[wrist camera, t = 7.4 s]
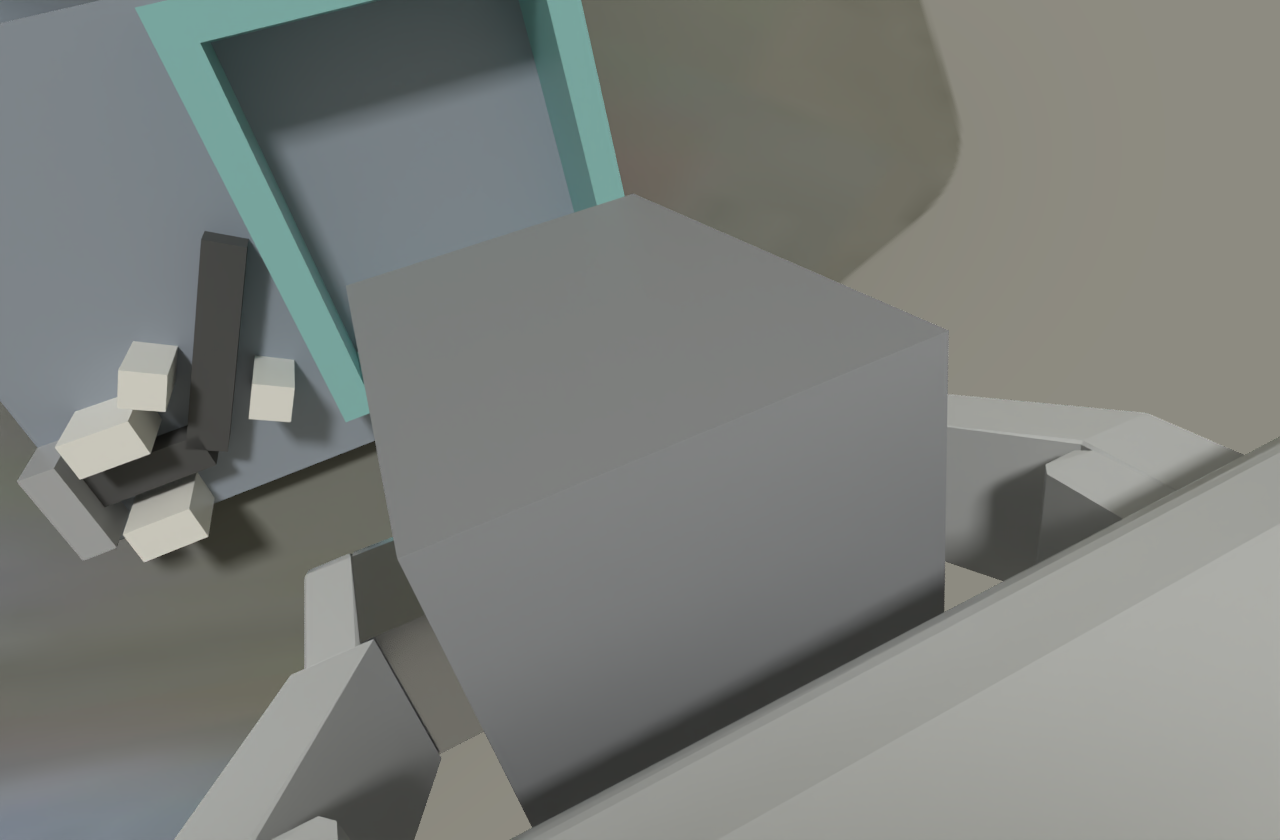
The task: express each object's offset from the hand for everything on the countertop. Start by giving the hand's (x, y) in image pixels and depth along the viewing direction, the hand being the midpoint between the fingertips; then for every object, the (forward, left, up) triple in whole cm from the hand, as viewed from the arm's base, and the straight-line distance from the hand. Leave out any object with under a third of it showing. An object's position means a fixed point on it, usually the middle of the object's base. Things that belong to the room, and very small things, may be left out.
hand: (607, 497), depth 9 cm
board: (0, -3, -20) cm, 20 cm away
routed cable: (+2, -9, -19) cm, 21 cm away
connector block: (0, 0, -2) cm, 2 cm away
